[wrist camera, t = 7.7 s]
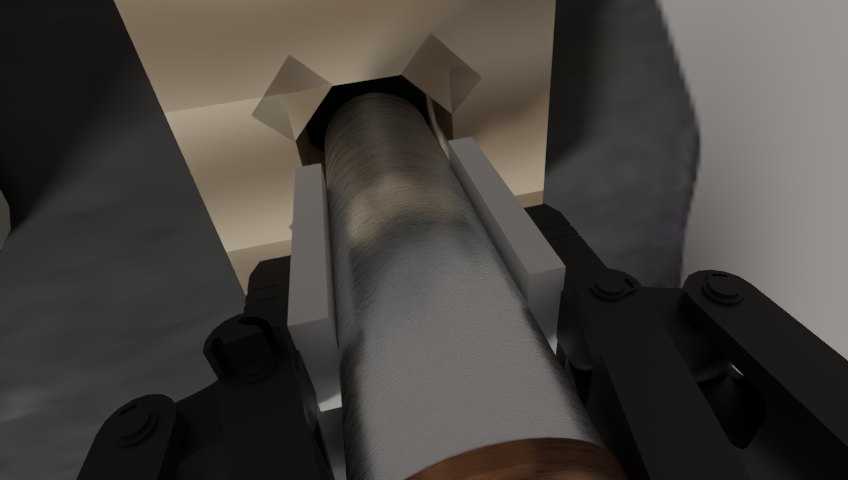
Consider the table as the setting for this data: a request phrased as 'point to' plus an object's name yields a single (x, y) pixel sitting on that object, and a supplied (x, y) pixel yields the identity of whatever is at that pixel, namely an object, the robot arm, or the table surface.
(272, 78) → the collar
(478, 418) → the tube
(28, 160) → the table surface
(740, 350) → the robot arm
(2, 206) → the can
